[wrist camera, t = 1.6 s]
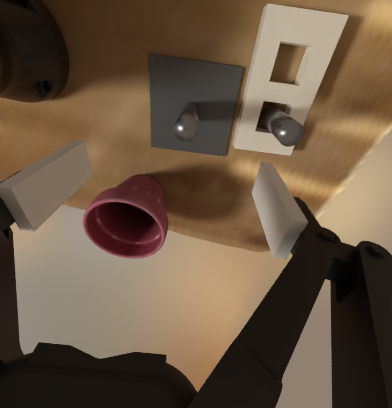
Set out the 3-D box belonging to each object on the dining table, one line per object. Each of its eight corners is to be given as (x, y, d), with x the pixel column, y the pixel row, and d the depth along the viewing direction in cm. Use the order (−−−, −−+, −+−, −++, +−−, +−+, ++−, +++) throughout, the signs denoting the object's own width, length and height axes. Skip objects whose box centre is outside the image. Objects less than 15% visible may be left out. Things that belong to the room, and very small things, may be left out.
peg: (182, 120, 34) (172, 140, 25) (183, 100, 32) (174, 115, 23) (199, 122, 34) (196, 143, 25) (202, 103, 32) (199, 118, 23)
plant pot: (163, 224, 49) (151, 268, 39) (107, 204, 46) (78, 245, 36) (185, 179, 41) (177, 219, 31) (119, 151, 38) (86, 185, 28)
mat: (152, 146, 37) (151, 146, 37) (150, 54, 29) (149, 54, 29) (224, 155, 38) (224, 156, 37) (243, 67, 29) (243, 67, 29)
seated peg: (257, 123, 34) (275, 145, 25) (263, 104, 32) (283, 120, 23) (274, 125, 34) (298, 148, 25) (281, 106, 32) (308, 123, 23)
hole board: (232, 143, 36) (234, 148, 34) (263, 8, 26) (267, 3, 24) (285, 150, 36) (290, 155, 34) (338, 18, 26) (349, 15, 24)
